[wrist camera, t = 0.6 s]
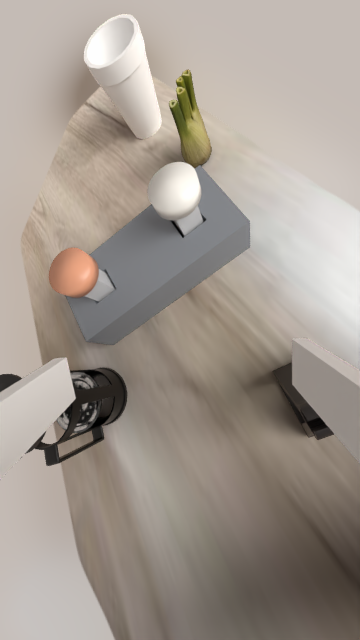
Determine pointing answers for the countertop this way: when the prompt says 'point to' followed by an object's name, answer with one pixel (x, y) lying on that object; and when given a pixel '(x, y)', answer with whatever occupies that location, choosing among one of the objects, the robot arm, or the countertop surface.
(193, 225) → the white rounded knob
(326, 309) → the countertop surface
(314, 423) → the phone stand
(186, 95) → the fennel bulb
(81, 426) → the french press
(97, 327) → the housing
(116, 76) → the foam cup
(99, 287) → the orange ball knob
